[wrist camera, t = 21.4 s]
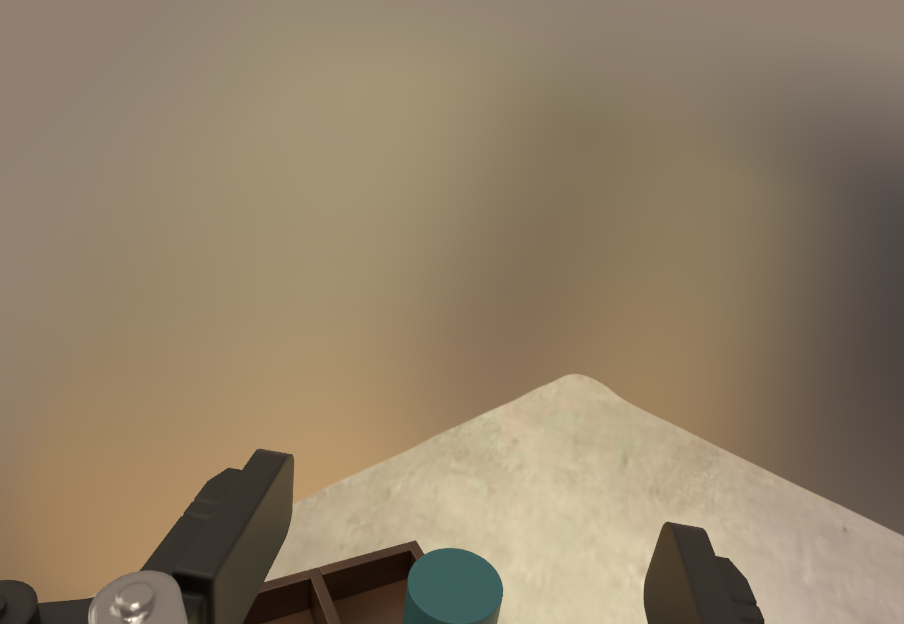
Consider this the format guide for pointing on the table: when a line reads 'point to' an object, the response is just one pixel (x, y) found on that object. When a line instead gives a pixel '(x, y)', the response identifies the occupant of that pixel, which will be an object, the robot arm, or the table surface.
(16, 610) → the robot arm
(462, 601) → the tall teal cylinder
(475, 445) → the table surface
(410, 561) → the grid
